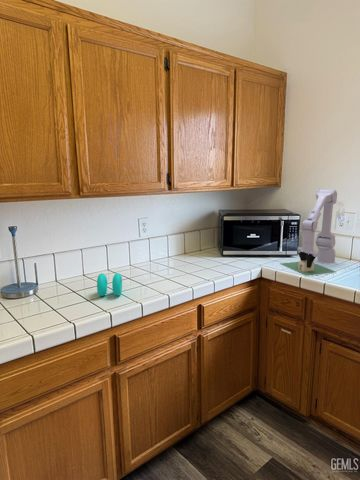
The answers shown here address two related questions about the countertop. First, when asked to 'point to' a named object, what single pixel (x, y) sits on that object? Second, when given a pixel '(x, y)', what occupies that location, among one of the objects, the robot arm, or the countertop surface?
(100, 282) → the donuts
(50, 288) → the countertop surface
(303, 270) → the beige u-shaped channel block
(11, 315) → the countertop surface
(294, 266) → the header board
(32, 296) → the countertop surface
